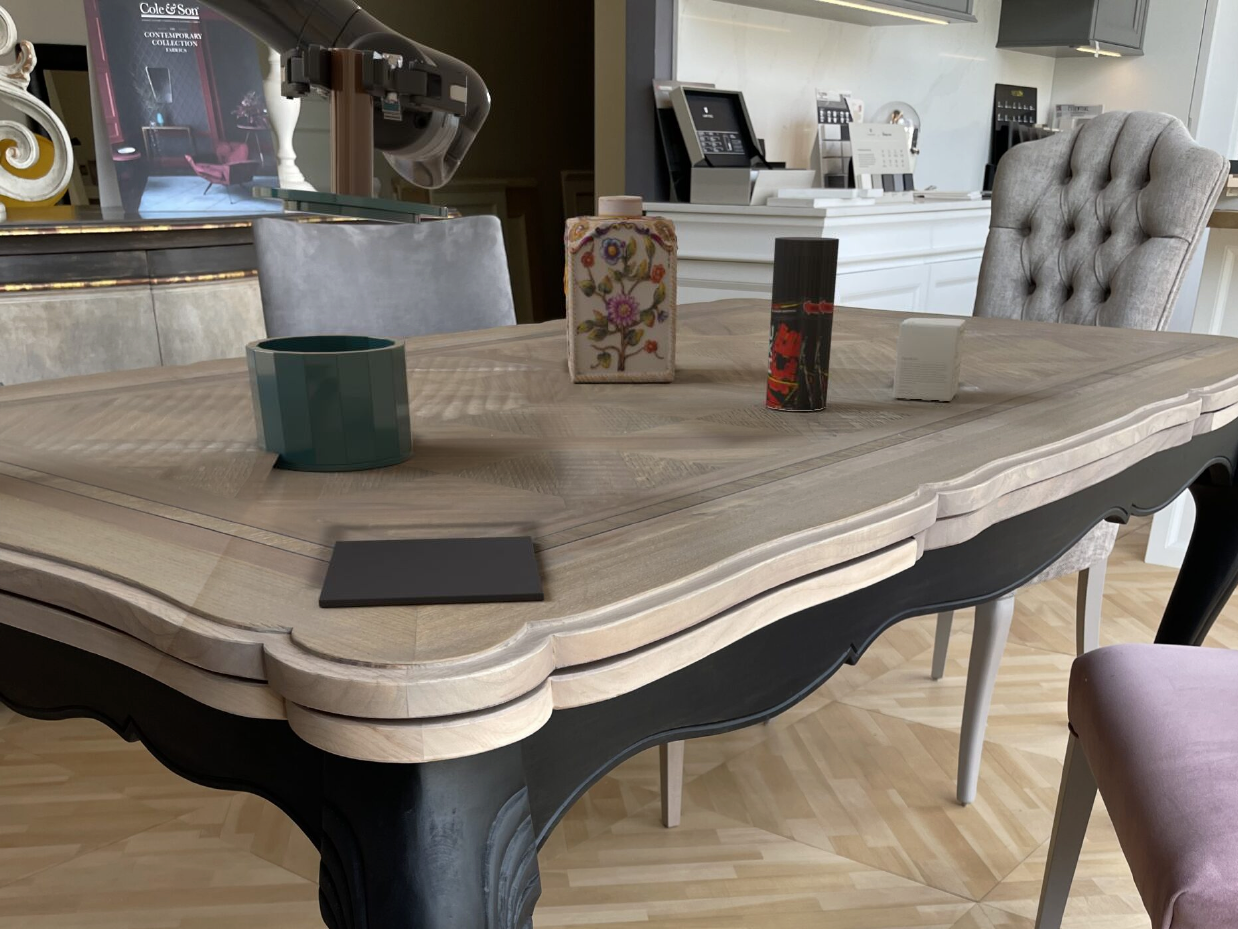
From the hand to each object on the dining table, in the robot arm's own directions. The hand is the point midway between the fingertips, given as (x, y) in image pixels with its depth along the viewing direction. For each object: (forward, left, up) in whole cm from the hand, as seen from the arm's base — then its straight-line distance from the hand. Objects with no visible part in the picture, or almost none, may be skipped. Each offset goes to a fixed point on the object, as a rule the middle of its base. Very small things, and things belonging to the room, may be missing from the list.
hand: (341, 67), depth 79 cm
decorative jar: (+24, +53, -26) cm, 64 cm away
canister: (-4, +11, -26) cm, 29 cm away
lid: (0, +2, -8) cm, 8 cm away
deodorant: (+39, +31, -26) cm, 57 cm away
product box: (+54, +36, -26) cm, 70 cm away
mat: (+4, -23, -26) cm, 35 cm away
